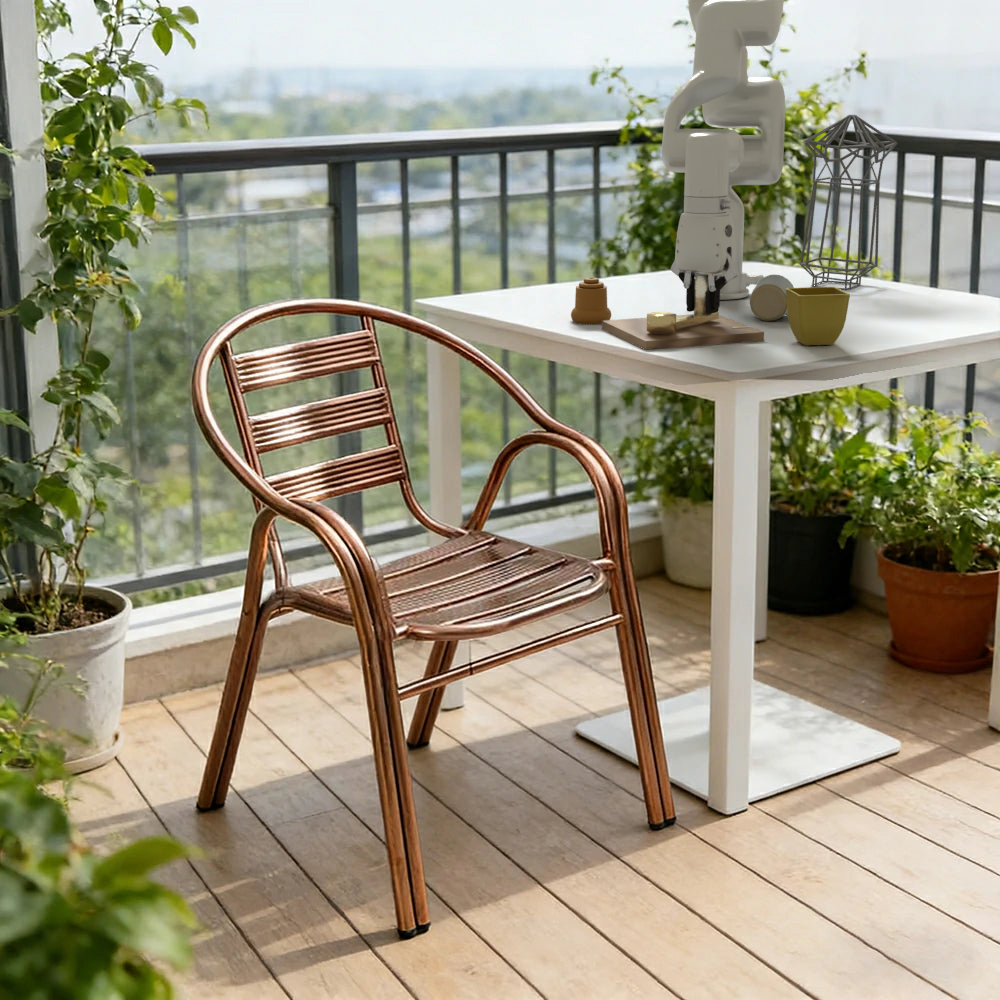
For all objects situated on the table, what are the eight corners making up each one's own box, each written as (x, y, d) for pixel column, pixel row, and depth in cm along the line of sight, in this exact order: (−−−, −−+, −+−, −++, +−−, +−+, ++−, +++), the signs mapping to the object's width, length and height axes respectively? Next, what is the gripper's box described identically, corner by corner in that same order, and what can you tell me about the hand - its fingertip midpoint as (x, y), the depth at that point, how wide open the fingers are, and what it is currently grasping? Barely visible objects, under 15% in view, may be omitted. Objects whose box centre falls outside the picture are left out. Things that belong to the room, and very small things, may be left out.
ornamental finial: (588, 326, 258) (562, 321, 264) (619, 321, 262) (593, 316, 268) (588, 282, 256) (562, 278, 262) (620, 278, 260) (593, 274, 266)
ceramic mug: (746, 321, 261) (749, 279, 259) (753, 313, 268) (756, 273, 266) (805, 325, 258) (808, 283, 255) (810, 317, 265) (813, 276, 263)
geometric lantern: (817, 278, 308) (831, 112, 297) (887, 286, 299) (903, 115, 289) (786, 287, 296) (799, 114, 285) (858, 295, 287) (874, 117, 276)
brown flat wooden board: (712, 320, 262) (713, 312, 261) (763, 340, 244) (764, 331, 243) (601, 328, 256) (601, 320, 255) (645, 349, 237) (645, 340, 237)
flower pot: (782, 339, 245) (784, 287, 242) (831, 337, 246) (834, 285, 243) (796, 349, 237) (799, 295, 234) (847, 347, 237) (851, 294, 234)
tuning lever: (663, 334, 239) (665, 286, 237) (640, 331, 243) (641, 283, 240) (725, 319, 252) (727, 273, 249) (702, 316, 255) (704, 270, 253)
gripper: (758, 207, 242) (754, 313, 248) (678, 201, 253) (676, 304, 258) (734, 211, 237) (730, 319, 243) (654, 205, 248) (652, 309, 253)
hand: (702, 310), depth 250 cm, fingers closed on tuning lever, 3 cm apart
